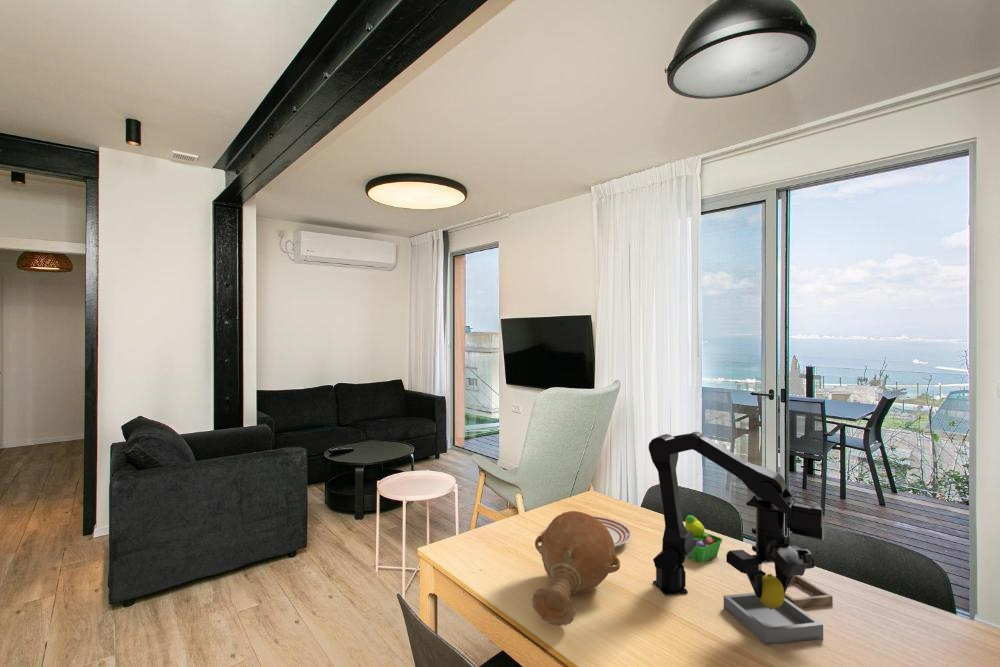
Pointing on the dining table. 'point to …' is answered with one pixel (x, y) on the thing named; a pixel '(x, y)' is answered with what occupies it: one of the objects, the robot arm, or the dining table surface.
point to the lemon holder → (817, 600)
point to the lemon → (772, 592)
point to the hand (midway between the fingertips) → (770, 596)
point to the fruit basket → (702, 541)
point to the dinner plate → (615, 530)
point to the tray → (773, 620)
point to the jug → (572, 563)
